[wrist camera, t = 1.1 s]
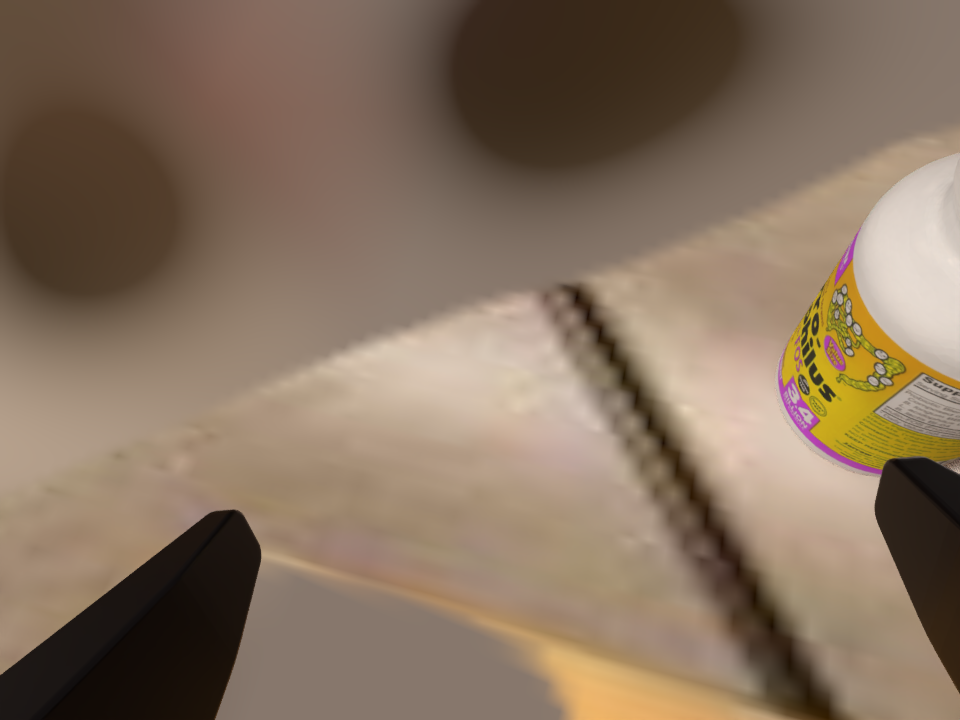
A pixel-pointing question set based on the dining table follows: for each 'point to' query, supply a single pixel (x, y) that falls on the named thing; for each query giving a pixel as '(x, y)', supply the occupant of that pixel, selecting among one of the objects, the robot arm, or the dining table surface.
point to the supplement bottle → (885, 335)
